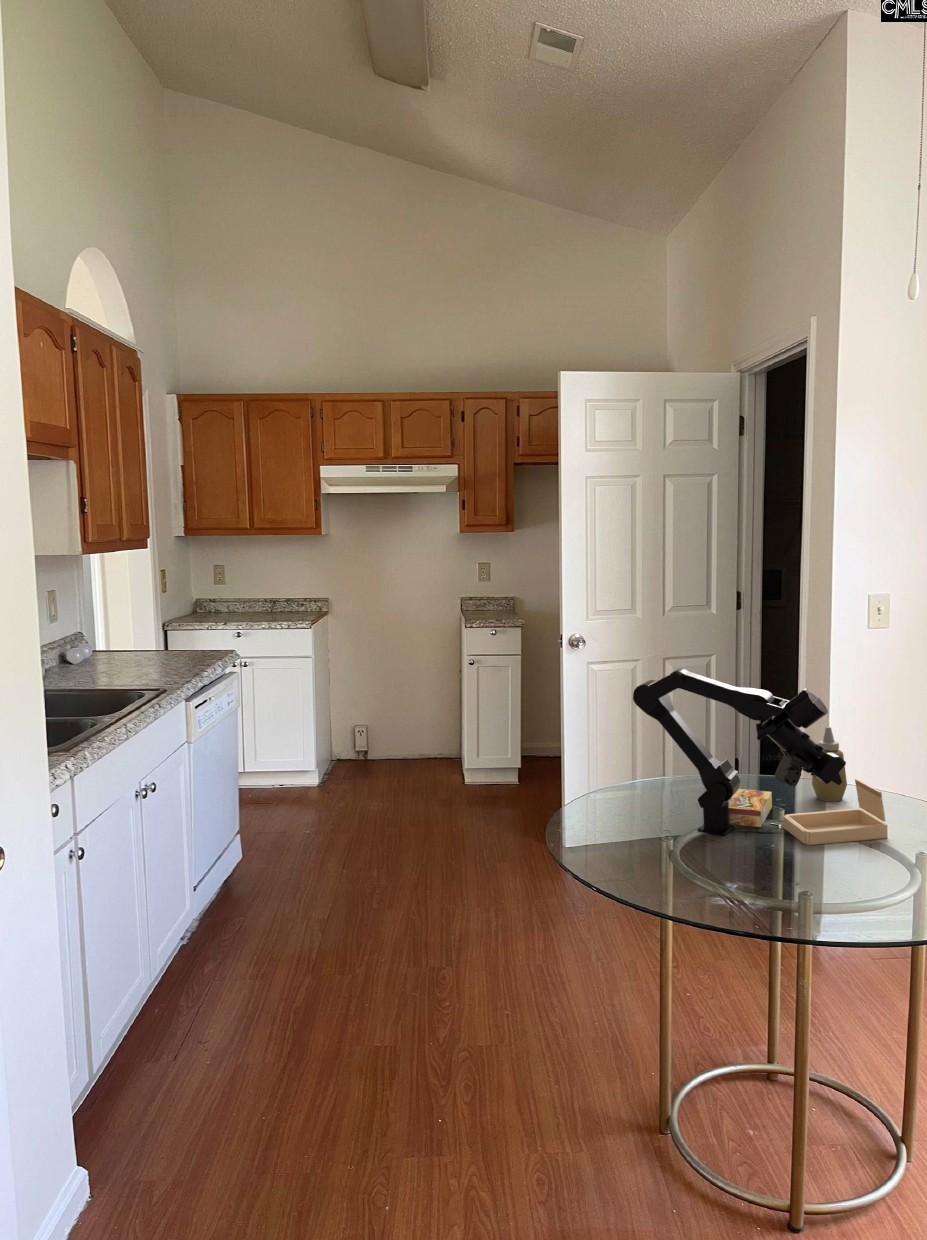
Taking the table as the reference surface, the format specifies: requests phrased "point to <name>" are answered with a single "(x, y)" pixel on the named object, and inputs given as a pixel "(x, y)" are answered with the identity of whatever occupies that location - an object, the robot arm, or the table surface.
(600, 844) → the table surface
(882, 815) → the flap
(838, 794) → the squeeze bottle
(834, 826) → the carton
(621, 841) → the table surface
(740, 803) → the candy box
